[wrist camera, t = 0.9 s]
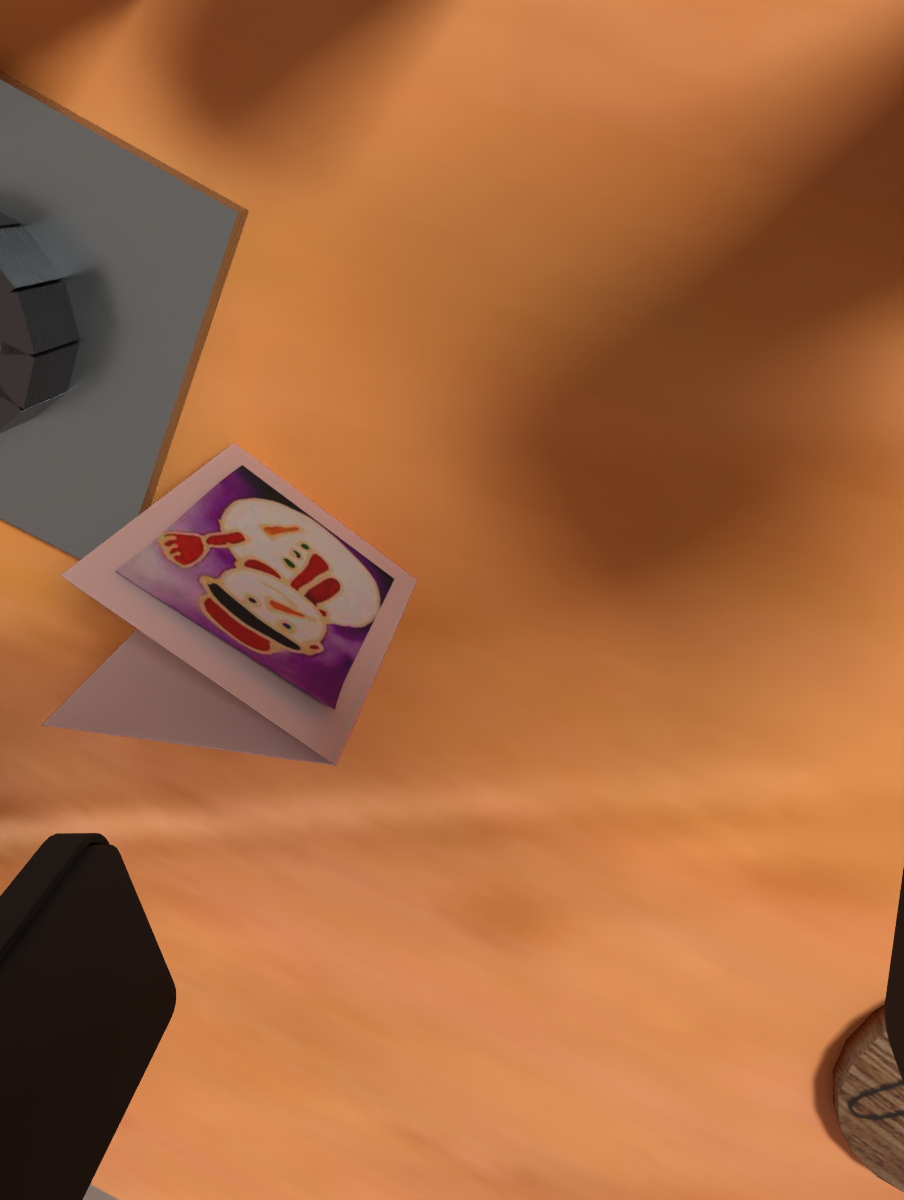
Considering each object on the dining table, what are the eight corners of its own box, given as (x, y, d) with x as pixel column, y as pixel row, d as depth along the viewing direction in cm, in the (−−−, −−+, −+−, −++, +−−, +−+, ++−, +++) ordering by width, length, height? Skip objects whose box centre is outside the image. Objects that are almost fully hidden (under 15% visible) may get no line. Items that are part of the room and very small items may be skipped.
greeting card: (427, 569, 42) (349, 751, 29) (349, 659, 46) (248, 858, 33) (242, 429, 40) (70, 557, 27) (175, 534, 44) (-7, 693, 31)
